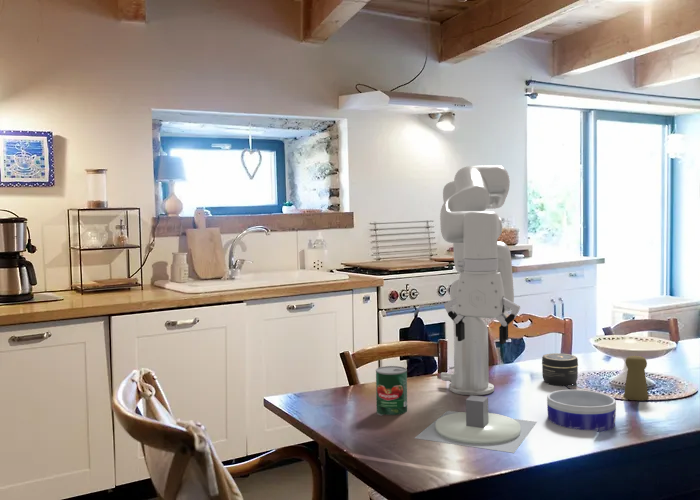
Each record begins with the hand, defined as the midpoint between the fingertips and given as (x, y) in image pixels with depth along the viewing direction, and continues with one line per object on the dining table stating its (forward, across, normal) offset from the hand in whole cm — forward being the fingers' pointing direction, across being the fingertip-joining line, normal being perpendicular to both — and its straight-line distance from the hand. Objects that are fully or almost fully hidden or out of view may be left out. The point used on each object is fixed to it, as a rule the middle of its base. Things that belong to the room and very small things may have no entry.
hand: (481, 341), depth 149 cm
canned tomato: (+21, -25, +6) cm, 33 cm away
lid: (+20, -1, -1) cm, 20 cm away
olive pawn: (+21, +29, +43) cm, 56 cm away
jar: (+21, +8, +51) cm, 56 cm away
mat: (+21, -1, -1) cm, 21 cm away
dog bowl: (+21, +19, +16) cm, 33 cm away
